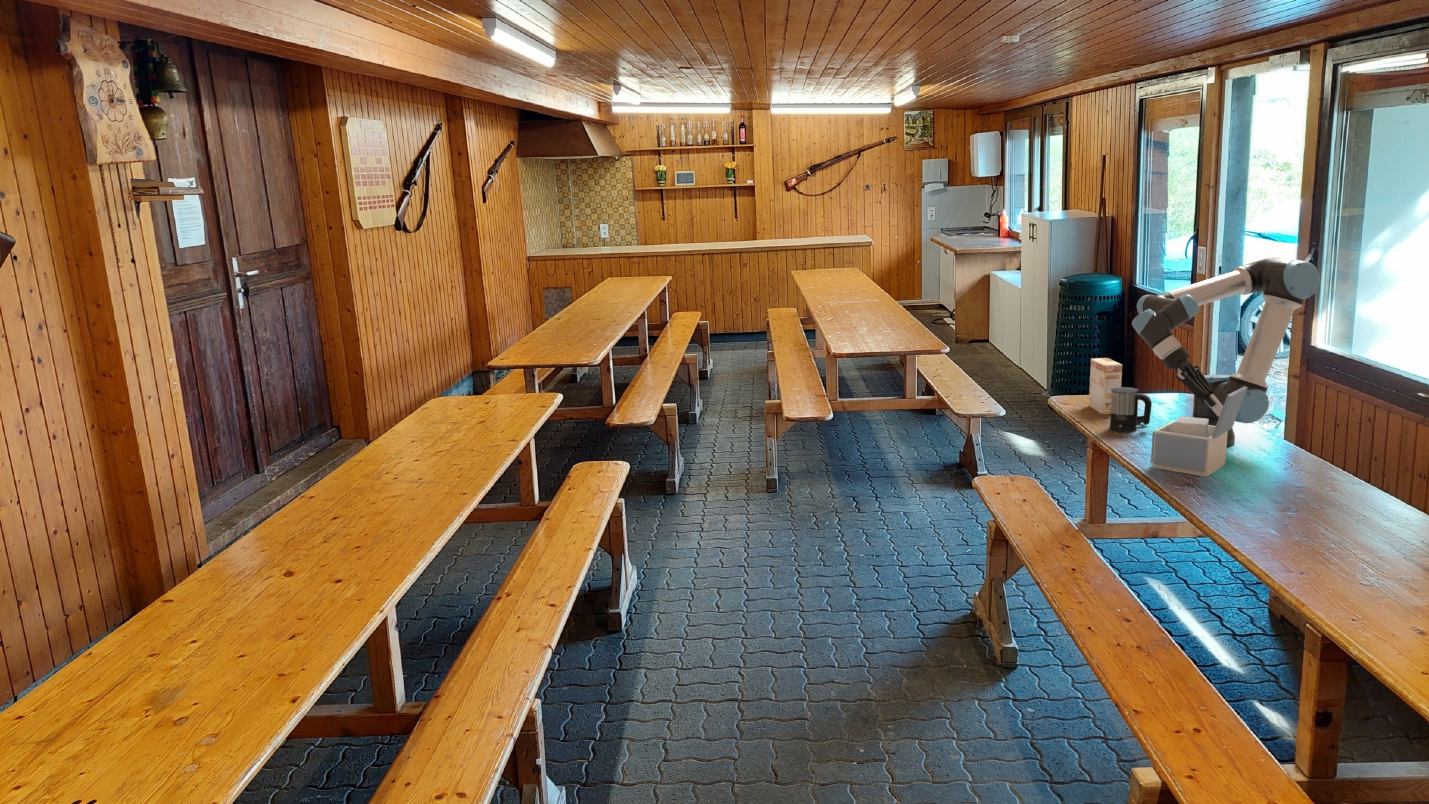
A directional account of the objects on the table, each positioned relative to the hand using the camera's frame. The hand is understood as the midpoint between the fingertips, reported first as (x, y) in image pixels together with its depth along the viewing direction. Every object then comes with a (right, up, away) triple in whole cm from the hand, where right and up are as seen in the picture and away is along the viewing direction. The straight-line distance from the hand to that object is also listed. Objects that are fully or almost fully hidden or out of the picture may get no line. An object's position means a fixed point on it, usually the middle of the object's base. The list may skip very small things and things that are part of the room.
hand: (1222, 413), depth 300 cm
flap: (+1, -6, +2) cm, 7 cm away
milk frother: (-4, -6, +60) cm, 60 cm away
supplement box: (-5, -17, +11) cm, 21 cm away
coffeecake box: (-2, 0, +86) cm, 86 cm away
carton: (-5, -17, +11) cm, 21 cm away
